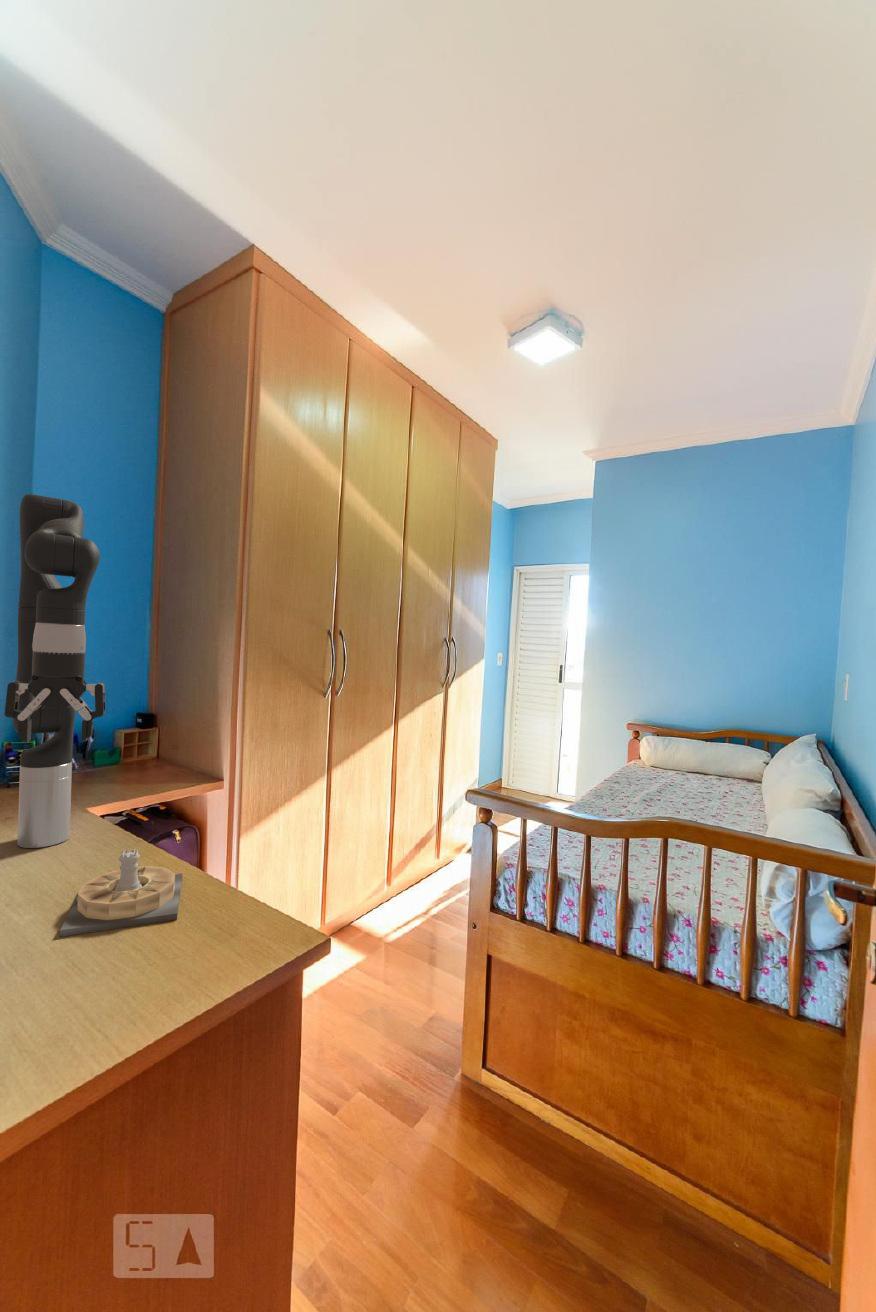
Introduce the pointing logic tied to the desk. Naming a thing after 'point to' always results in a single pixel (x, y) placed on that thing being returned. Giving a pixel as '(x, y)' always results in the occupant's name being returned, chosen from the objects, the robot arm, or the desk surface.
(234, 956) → the desk surface
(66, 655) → the robot arm
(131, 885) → the rook chess piece
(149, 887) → the gray square plate
